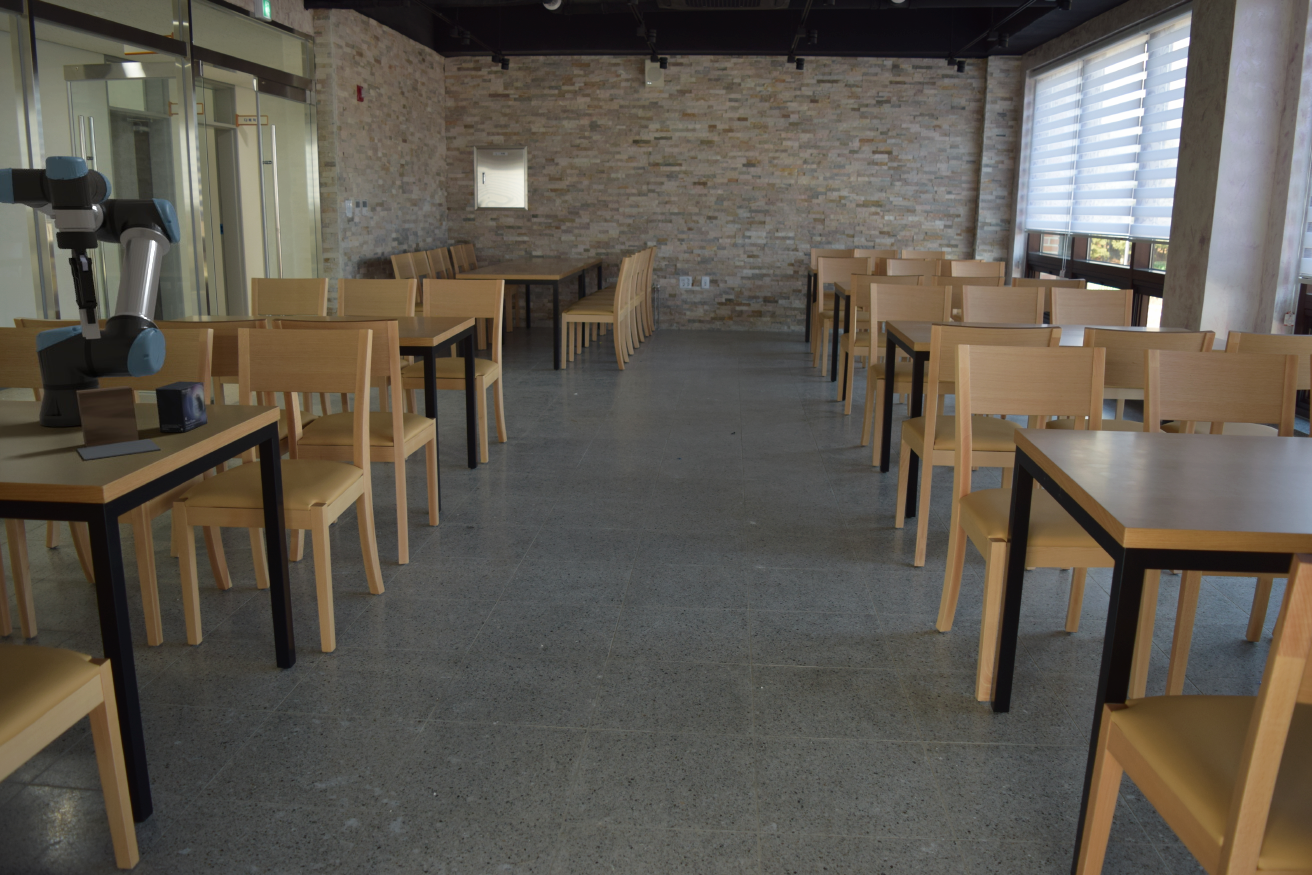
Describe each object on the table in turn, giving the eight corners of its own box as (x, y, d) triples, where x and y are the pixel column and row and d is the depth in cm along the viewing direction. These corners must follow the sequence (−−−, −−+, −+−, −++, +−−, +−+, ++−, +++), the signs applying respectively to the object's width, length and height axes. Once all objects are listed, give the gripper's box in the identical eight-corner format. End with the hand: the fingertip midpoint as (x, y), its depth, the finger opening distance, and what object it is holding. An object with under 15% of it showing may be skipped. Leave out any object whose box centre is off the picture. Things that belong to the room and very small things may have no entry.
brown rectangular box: (84, 444, 200) (76, 390, 197) (135, 437, 206) (128, 385, 203) (87, 447, 197) (78, 393, 194) (138, 440, 203) (131, 388, 200)
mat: (76, 449, 195) (76, 448, 195) (149, 440, 204) (149, 438, 204) (84, 460, 186) (84, 459, 186) (160, 450, 194) (160, 448, 194)
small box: (186, 433, 211) (181, 388, 208) (158, 433, 211) (153, 388, 208) (209, 423, 221) (204, 380, 219) (183, 423, 221) (177, 380, 219)
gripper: (50, 230, 202) (67, 335, 207) (60, 230, 188) (77, 342, 194) (90, 230, 206) (104, 332, 212) (101, 230, 193) (117, 339, 198)
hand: (91, 337), depth 203 cm, fingers open, 4 cm apart
